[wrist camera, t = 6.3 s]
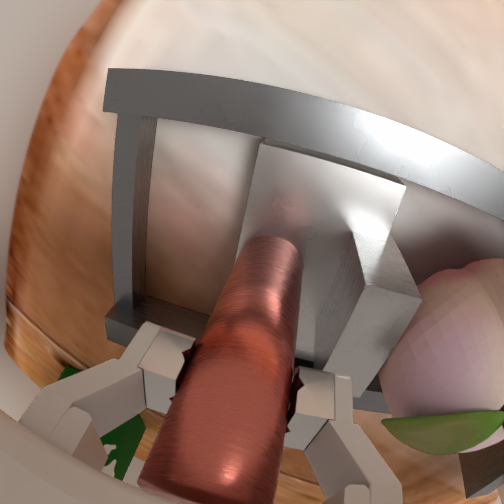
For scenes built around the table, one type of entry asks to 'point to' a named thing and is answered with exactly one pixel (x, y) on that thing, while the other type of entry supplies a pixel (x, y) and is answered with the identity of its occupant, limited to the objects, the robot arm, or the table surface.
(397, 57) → the table surface
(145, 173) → the press base
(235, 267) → the handle
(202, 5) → the table surface
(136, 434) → the milk carton
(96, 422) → the robot arm
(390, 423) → the decorative fruit
